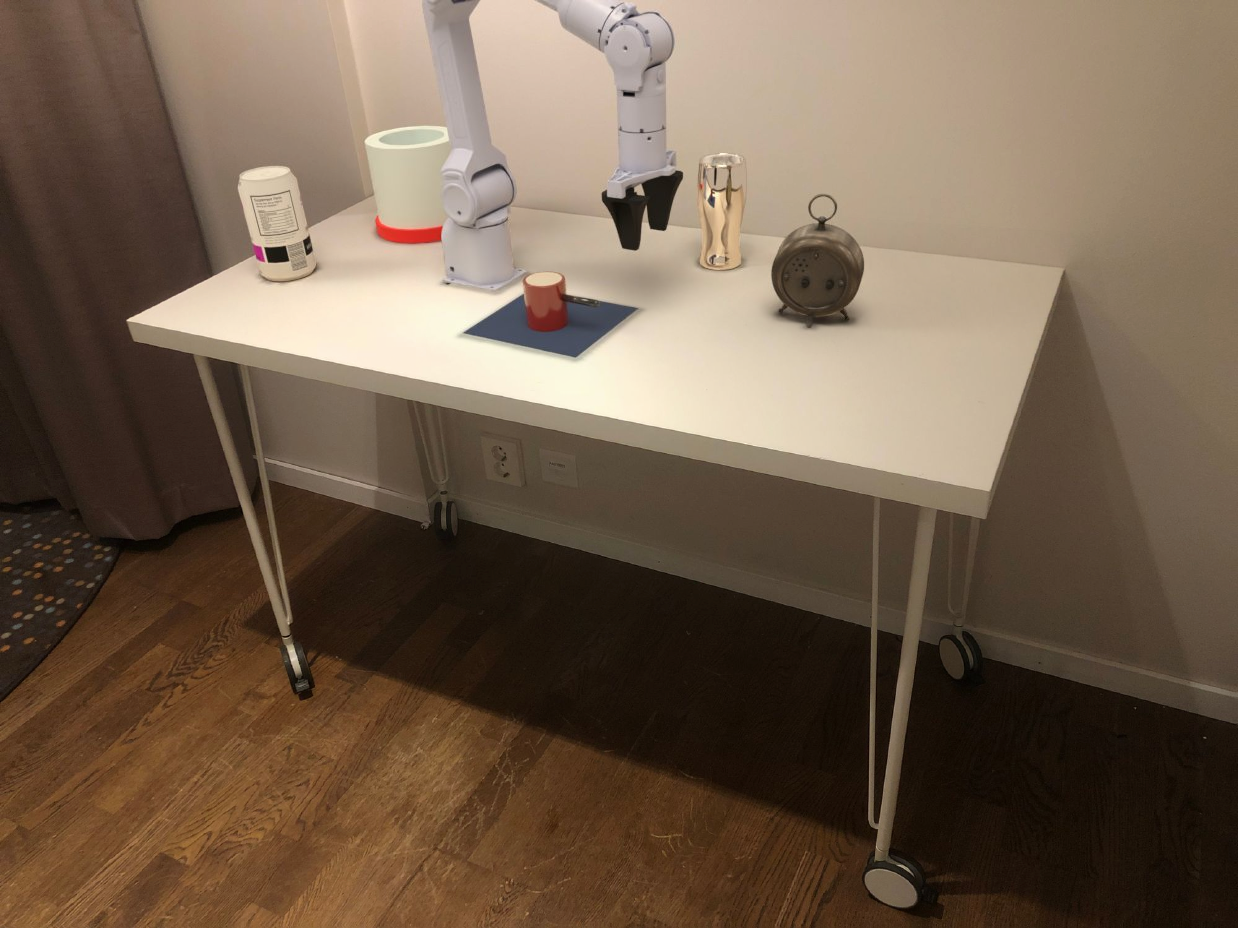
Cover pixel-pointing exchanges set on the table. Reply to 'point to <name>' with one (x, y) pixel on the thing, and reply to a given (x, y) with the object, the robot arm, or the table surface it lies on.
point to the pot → (549, 301)
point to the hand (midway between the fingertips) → (644, 239)
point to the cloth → (567, 341)
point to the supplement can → (276, 223)
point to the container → (409, 182)
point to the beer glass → (721, 208)
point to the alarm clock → (818, 269)
